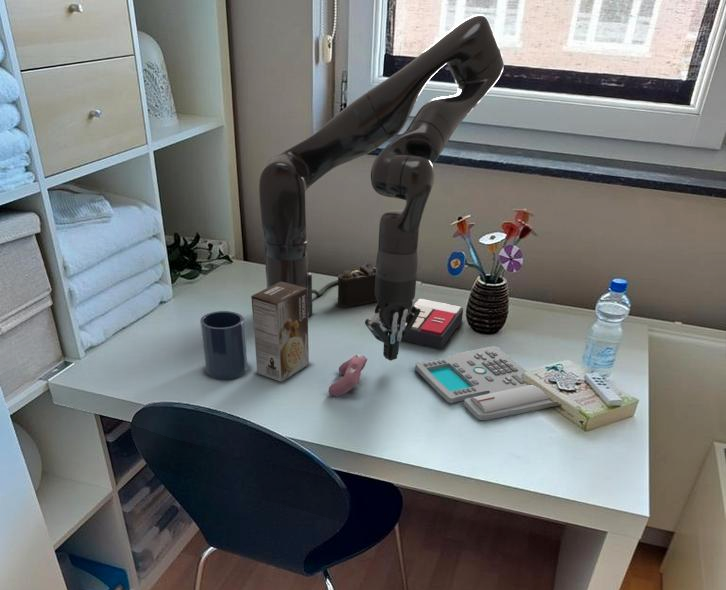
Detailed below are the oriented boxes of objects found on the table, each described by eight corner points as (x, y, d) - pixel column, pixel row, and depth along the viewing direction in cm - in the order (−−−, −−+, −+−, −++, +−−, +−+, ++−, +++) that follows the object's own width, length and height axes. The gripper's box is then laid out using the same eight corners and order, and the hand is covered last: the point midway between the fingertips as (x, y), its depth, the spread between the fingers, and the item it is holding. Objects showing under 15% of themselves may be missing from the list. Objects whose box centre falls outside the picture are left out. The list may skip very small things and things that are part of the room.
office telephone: (565, 393, 126) (473, 414, 119) (562, 405, 127) (471, 426, 120) (496, 339, 142) (412, 355, 135) (494, 351, 144) (410, 366, 137)
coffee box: (284, 356, 139) (281, 279, 129) (309, 364, 136) (308, 287, 126) (255, 373, 133) (250, 294, 123) (281, 383, 130) (278, 303, 120)
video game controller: (346, 406, 127) (364, 378, 123) (325, 393, 126) (342, 365, 122) (357, 381, 135) (374, 354, 130) (337, 369, 134) (354, 342, 130)
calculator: (393, 323, 145) (418, 295, 155) (393, 341, 147) (416, 312, 158) (442, 333, 141) (464, 304, 152) (440, 351, 144) (462, 322, 155)
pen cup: (233, 356, 138) (228, 307, 132) (255, 371, 133) (252, 321, 127) (198, 367, 134) (192, 317, 127) (220, 383, 129) (214, 332, 123)
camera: (387, 287, 170) (389, 255, 165) (402, 297, 165) (404, 264, 160) (329, 299, 163) (329, 266, 158) (343, 309, 158) (343, 275, 154)
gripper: (383, 287, 118) (378, 375, 129) (436, 270, 125) (427, 355, 136) (355, 274, 122) (352, 360, 133) (407, 259, 130) (401, 342, 140)
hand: (390, 358), depth 134 cm, fingers closed
